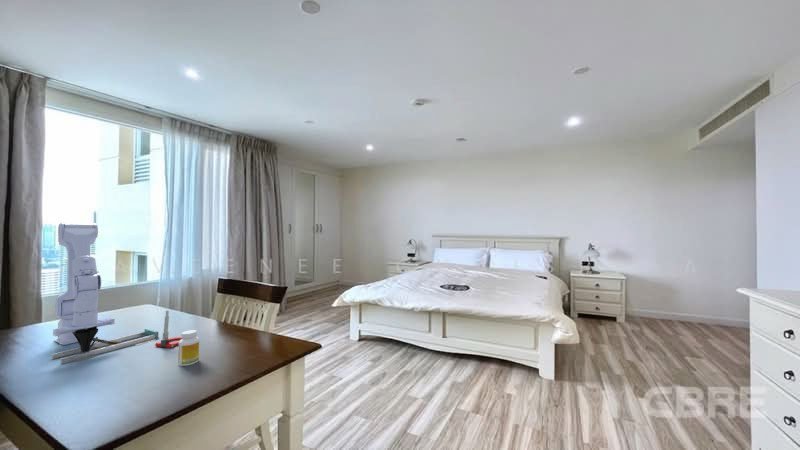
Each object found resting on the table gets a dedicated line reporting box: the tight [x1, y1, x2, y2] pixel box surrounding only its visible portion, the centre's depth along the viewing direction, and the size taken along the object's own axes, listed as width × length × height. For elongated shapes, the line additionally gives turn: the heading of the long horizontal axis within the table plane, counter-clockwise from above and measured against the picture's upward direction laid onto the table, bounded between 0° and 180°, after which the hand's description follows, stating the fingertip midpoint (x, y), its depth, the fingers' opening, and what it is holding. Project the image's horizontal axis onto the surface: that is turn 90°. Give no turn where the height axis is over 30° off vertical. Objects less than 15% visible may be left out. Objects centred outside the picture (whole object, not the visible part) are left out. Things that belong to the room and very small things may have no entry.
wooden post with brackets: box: [89, 336, 121, 351], centre depth 107 cm, size 2×8×4 cm, turn 130°
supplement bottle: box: [177, 329, 200, 367], centre depth 97 cm, size 5×5×10 cm
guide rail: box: [51, 327, 159, 365], centre depth 108 cm, size 10×26×2 cm, turn 153°
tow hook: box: [154, 309, 182, 349], centre depth 114 cm, size 8×13×9 cm
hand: (84, 351), depth 103 cm, fingers closed
